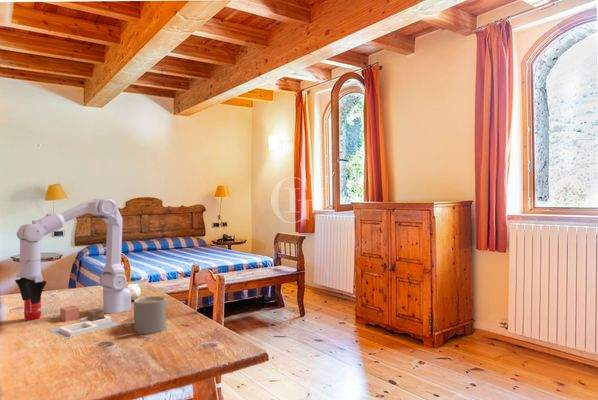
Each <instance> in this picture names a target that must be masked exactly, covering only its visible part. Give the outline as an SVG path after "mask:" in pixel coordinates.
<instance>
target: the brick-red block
mask: <svg viewBox="0 0 598 400" xmlns="http://www.w3.org/2000/svg"><path fill="white" fill-rule="evenodd" d="M59 312H60V314H59V317H60V320H61V321H63V322H70V321H75V320H80V307H78V306H76V305H70V306H65V307H61V308H60V310H59Z"/></svg>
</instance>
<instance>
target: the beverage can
mask: <svg viewBox="0 0 598 400" xmlns="http://www.w3.org/2000/svg"><path fill="white" fill-rule="evenodd" d="M23 314H24V315H23V316H24V317H23V318H24V320H25V321H26V322H30V321H35V320H36V321H37V320H39V319H40V318H41V316H42V297H41V298H40V302H39V303H35V304H31V301H30V299H29V300H23Z"/></svg>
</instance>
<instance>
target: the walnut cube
mask: <svg viewBox="0 0 598 400" xmlns="http://www.w3.org/2000/svg"><path fill="white" fill-rule="evenodd" d="M86 314H87V320H89V321H91V322H92V321H96V320H101V319H104V315H105V313H104V310H103V308H100V307H98V308H94V309H93V308H92V309H89V310H87V311H86Z"/></svg>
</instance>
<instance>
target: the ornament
mask: <svg viewBox="0 0 598 400" xmlns="http://www.w3.org/2000/svg"><path fill="white" fill-rule="evenodd" d="M124 288H128V289H129V291H130V293H131V302H132V300H136V299H138V298H140V296H141V292H142V291H141V287H139V285H138V283H137V282H136V281H135V282H134V281H132V283H130V284H127V286H125V287H124Z"/></svg>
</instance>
